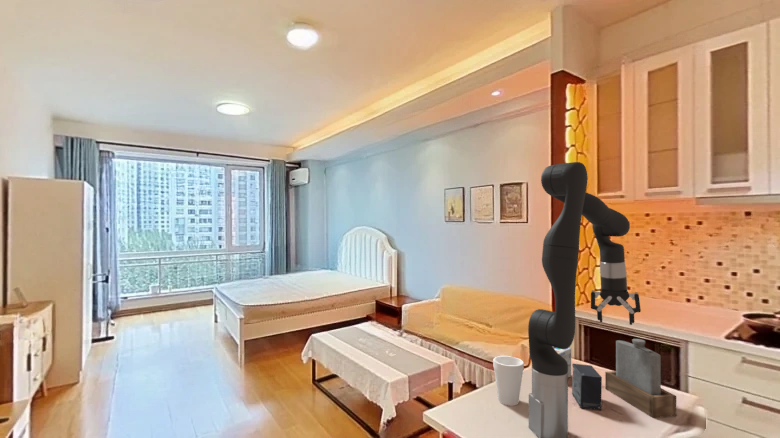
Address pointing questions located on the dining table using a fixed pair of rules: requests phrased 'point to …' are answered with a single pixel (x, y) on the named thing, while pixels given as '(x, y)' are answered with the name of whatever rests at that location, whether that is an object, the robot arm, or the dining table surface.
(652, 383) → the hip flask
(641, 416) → the dining table surface
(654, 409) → the wooden open tray
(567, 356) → the light bulb box
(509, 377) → the foam cup
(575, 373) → the small box
